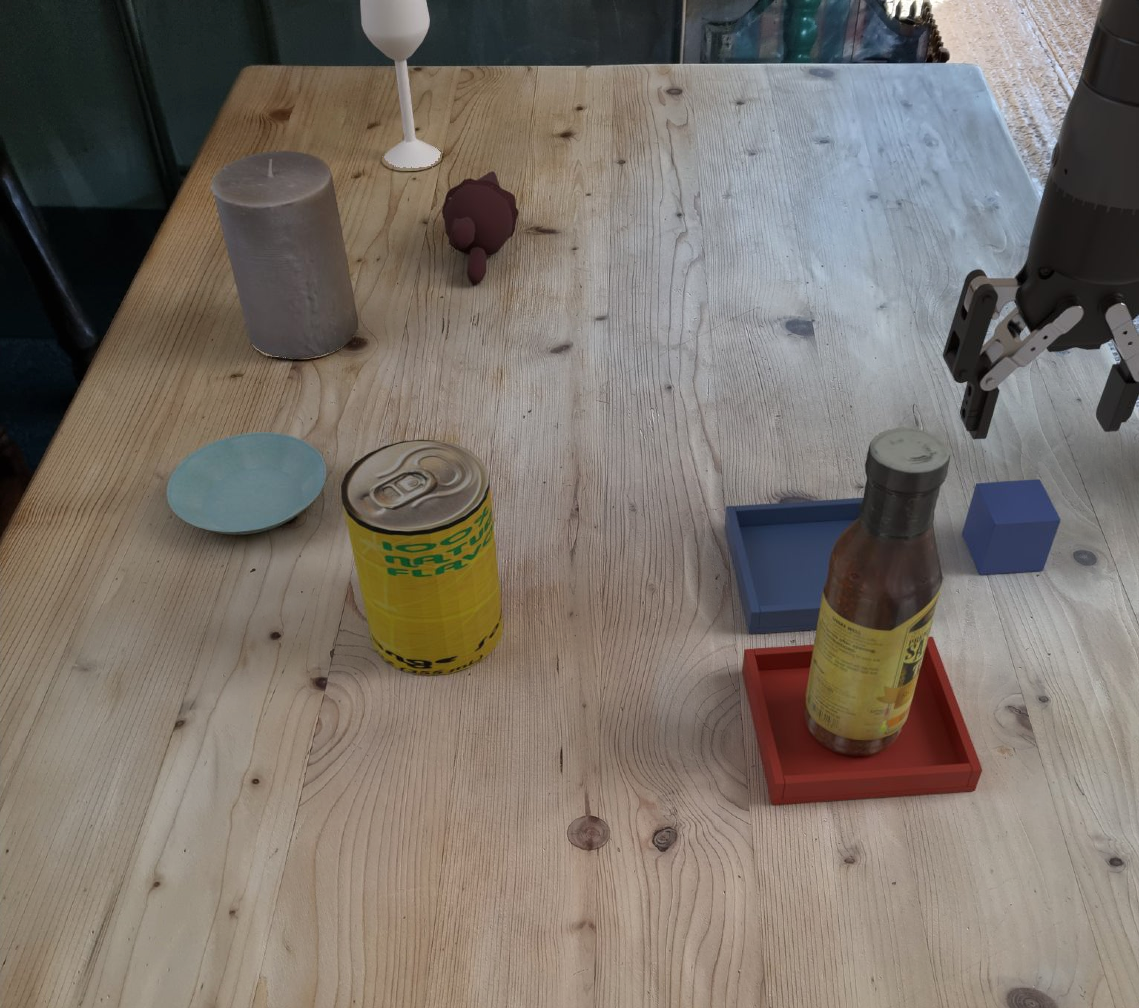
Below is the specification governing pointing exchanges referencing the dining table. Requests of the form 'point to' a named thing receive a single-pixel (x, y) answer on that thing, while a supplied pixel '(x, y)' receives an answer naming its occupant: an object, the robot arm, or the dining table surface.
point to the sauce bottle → (879, 599)
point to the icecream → (479, 221)
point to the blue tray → (785, 559)
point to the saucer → (246, 483)
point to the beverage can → (425, 554)
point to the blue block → (1010, 526)
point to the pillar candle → (287, 252)
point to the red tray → (815, 773)
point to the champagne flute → (400, 66)
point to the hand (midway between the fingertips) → (1040, 428)
